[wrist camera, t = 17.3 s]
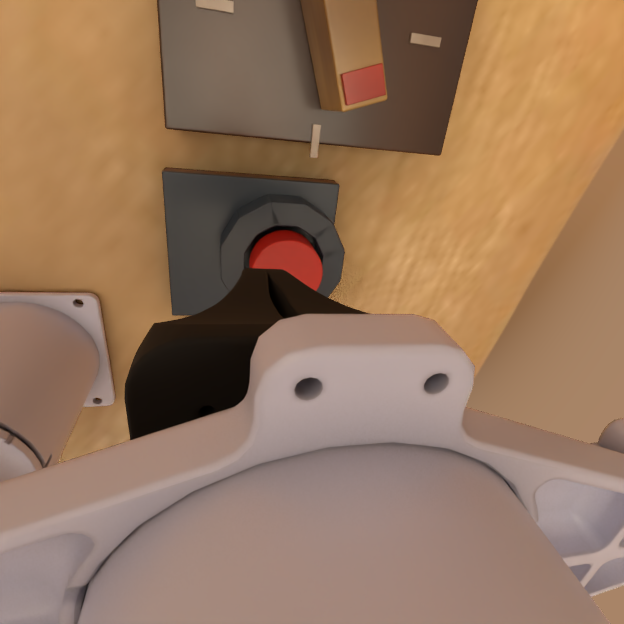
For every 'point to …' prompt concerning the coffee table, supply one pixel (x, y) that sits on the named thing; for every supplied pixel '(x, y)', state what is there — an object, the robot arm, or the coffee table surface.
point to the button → (288, 256)
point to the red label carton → (345, 52)
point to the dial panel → (308, 73)
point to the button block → (240, 228)
